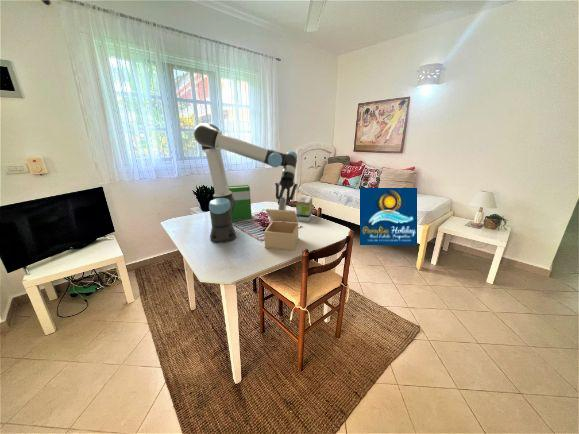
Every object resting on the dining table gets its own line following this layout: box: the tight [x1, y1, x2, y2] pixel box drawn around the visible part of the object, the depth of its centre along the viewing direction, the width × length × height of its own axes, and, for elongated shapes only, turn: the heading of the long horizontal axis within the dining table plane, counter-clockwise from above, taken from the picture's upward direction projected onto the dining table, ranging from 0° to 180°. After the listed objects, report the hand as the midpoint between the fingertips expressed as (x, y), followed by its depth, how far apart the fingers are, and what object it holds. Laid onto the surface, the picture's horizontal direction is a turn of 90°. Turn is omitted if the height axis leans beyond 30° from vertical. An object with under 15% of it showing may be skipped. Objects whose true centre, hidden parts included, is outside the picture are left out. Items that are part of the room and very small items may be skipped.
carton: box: [263, 220, 299, 251], centre depth 129 cm, size 16×16×10 cm
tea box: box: [295, 196, 313, 223], centre depth 166 cm, size 15×10×15 cm
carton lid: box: [265, 196, 299, 224], centre depth 128 cm, size 16×16×9 cm
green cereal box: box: [228, 184, 253, 222], centre depth 166 cm, size 18×7×24 cm, turn 107°
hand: (282, 209), depth 124 cm, fingers open, 2 cm apart
